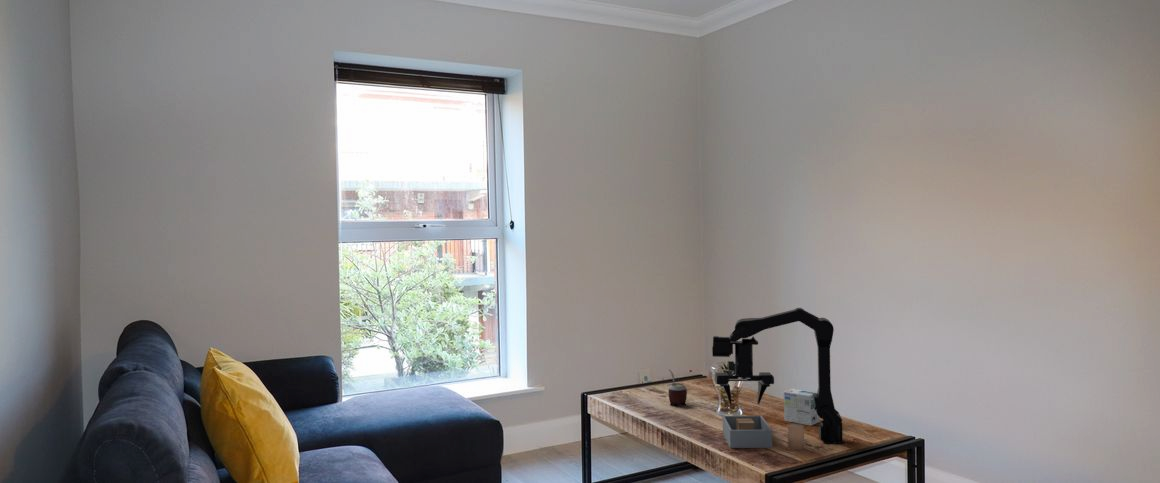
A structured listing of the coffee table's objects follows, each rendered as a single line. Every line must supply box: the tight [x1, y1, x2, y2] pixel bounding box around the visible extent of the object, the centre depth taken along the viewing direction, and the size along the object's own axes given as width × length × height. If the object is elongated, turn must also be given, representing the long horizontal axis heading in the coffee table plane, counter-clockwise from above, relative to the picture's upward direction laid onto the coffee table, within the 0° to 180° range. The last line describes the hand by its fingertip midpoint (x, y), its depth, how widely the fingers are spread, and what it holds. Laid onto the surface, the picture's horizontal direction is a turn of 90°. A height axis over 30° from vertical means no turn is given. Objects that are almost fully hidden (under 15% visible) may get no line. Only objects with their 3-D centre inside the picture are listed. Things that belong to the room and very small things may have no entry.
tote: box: [722, 415, 773, 449], centre depth 250 cm, size 13×17×6 cm
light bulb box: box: [783, 388, 821, 427], centre depth 270 cm, size 11×7×11 cm, turn 47°
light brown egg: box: [787, 423, 805, 451], centre depth 240 cm, size 5×5×7 cm
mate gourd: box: [668, 369, 688, 408], centre depth 296 cm, size 8×8×15 cm
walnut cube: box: [736, 419, 754, 430], centre depth 253 cm, size 5×5×5 cm
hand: (744, 404), depth 252 cm, fingers open, 9 cm apart
